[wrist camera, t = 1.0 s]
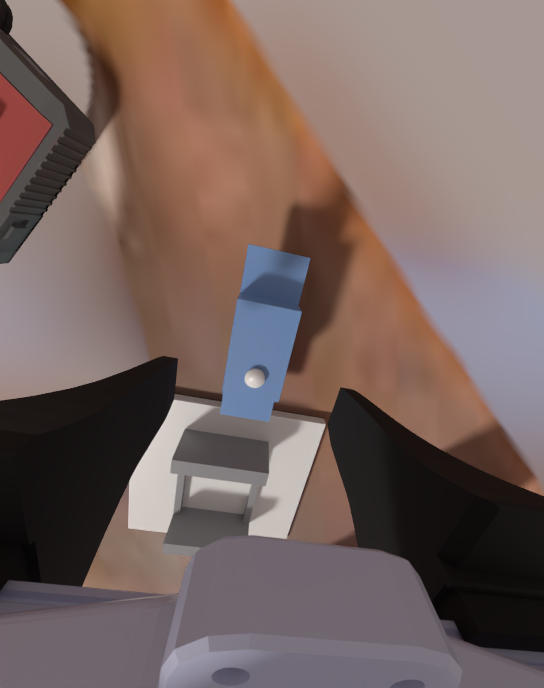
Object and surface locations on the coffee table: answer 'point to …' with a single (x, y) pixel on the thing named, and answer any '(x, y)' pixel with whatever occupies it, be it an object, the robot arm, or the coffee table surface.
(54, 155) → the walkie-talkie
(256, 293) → the block
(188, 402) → the pocket plate
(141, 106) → the coffee table surface
